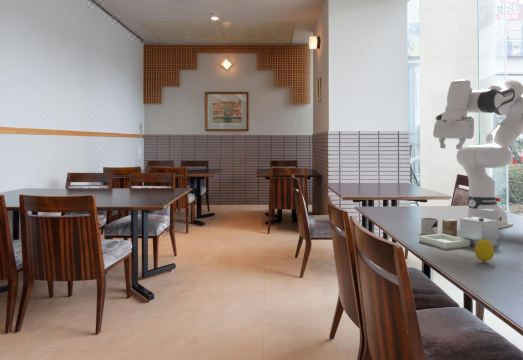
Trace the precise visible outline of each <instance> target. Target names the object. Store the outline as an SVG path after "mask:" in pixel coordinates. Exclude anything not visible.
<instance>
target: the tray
mask: <svg viewBox="0 0 523 360" xmlns="http://www.w3.org/2000/svg"><path fill="white" fill-rule="evenodd" d="M418 242H419V243H422V244H426V245H429V246H433V247H436V248H439V249H444V250H453V249H459V248H460V249H461V248H468V247H471V246H470V240H467V239H463V238H460V236H459V237H458V236H457V237H455V236H450V235H446V234H442V233H437V234H433V235H423V234H422V235H419V236H418Z"/></svg>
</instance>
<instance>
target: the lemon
mask: <svg viewBox="0 0 523 360" xmlns="http://www.w3.org/2000/svg"><path fill="white" fill-rule="evenodd" d="M494 248H495V247H493V245H492V243H491V242H490V241H488V240H486V239H483V240H480V241H478V242H477V244H476V246H475V247H474V254H475V257H476V258H477V260H480V261H481V262H482V263H483V264H485V263H486V262H489V261H490V260H492V259H493V257H494V255H495V249H494Z"/></svg>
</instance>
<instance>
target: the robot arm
mask: <svg viewBox="0 0 523 360" xmlns="http://www.w3.org/2000/svg"><path fill="white" fill-rule="evenodd" d="M468 113H469V114H470V113H473V114H474V113H485V114H486V113H488V114H493V113H494V114H495V115H499V116H505V118H504V119H503V120H502V121H500V122H499V123H497V125H496V126H495V127H494V128H493V129H492V130H491V131H490V132H489V133H488V134H487V135H486V137H485V142H486V143H485V144H469V145H464V144H465V142H466V140H472V139H473V138H474V135H475V119H474V118H473V116H471V115H470V116H468ZM435 121H436V122H435V123H434V126H433V133H432V135H433V137H434V139H435V138H436V139H438V141H439V144H440V146H439V148H440V149H446V144H445V141H446V139H456V140H457V139H458V141H459V142H458V144H456V145H455V148H456V150H457V153H456V160H457V163H458V164H459V165H460V166H461V167H463V169H464V171H465V173H466V176H467V180H468V196H467V207H466V212H465V218H466V217H479V210H480V209H493V210H499V229H502V228H506V227H508V228H509V227H512V226H514V223H513V222H509V221H508V213H507V212H506V211H505V210H504V209H503V208H502V207H500V206H499V205H498V202H501V201H502V198H501V197H499V196H496V197H495V192H496V191H495V187H496V182H495V179H494V178H493V177H492V176H490V175H489V173H487V170H486V169H497V168H498V169H500V168H504V167H507V166H508V165H509V164H510V162H511V159H512V153H511V151H510V148H509V147H511V145H512V144H513V143H514V142H515V141H516V140H517V139H518V138H519V137H520V135H521V134H522V132H523V84H522V83H521V82H520V81H518V80H515V79H514V80H511V79H509V80H507V79H506V80H501V81H497V82H495V83H493V84H492V85H490V86H489V87H488V89H478V90H474V89H473V88H472V87H471V80H469V79H458V80H453V81H451V82H450V85H449V87H448V91H447V96H446V106H445V111H444V112H442V113H440V114H438V115H436V116H435ZM463 145H464V146H463Z"/></svg>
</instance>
